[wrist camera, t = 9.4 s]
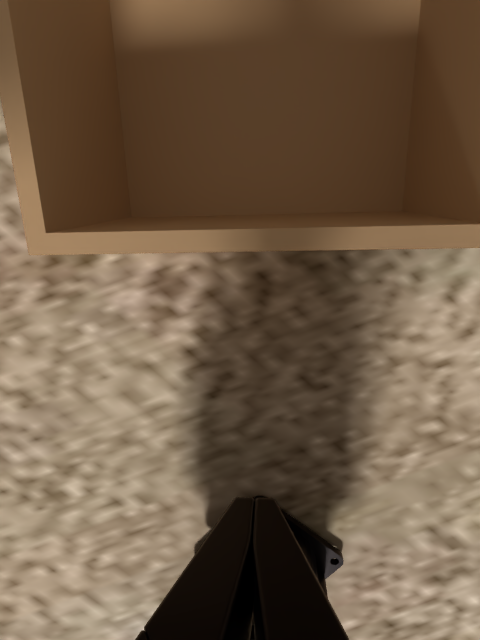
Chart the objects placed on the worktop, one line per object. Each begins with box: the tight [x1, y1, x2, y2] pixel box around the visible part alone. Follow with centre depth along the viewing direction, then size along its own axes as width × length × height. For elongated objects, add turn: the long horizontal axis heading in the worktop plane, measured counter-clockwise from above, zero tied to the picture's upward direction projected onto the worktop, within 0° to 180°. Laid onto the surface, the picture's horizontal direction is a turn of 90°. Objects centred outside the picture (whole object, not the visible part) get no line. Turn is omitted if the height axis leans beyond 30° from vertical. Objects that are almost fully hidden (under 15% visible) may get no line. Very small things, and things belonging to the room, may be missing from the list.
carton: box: [0, 0, 480, 255], centre depth 13 cm, size 12×13×8 cm
